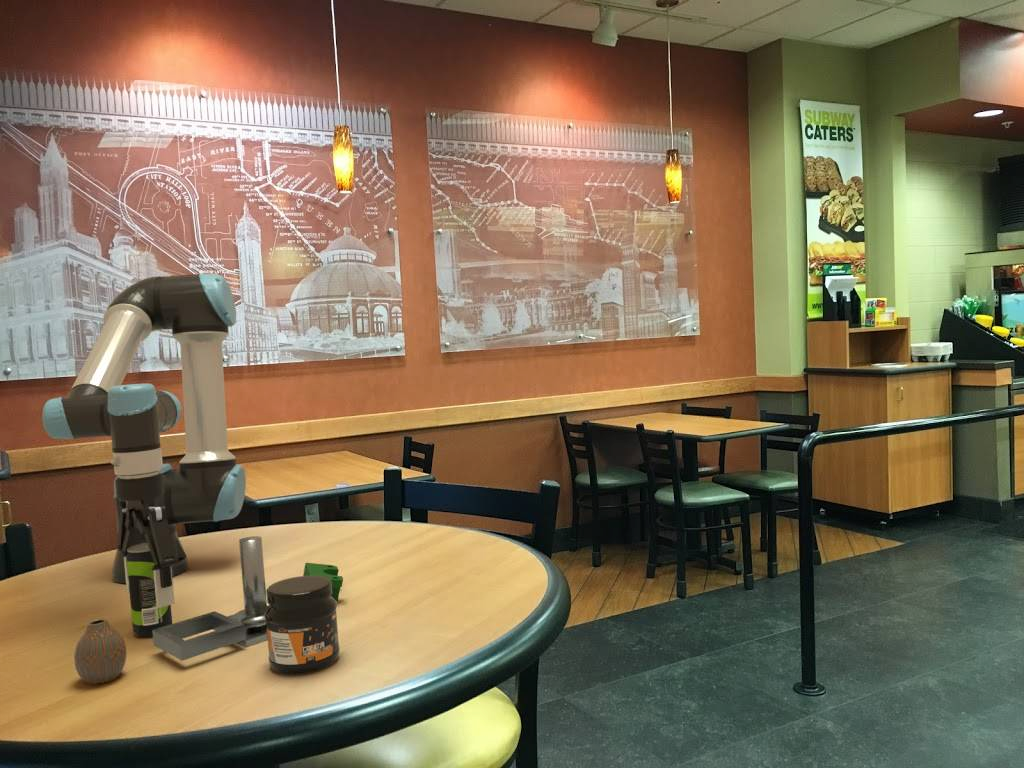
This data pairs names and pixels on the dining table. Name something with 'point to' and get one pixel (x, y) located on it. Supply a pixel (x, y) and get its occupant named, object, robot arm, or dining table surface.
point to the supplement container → (301, 625)
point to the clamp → (326, 575)
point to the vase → (100, 653)
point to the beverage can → (144, 593)
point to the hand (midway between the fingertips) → (150, 598)
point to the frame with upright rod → (228, 629)
